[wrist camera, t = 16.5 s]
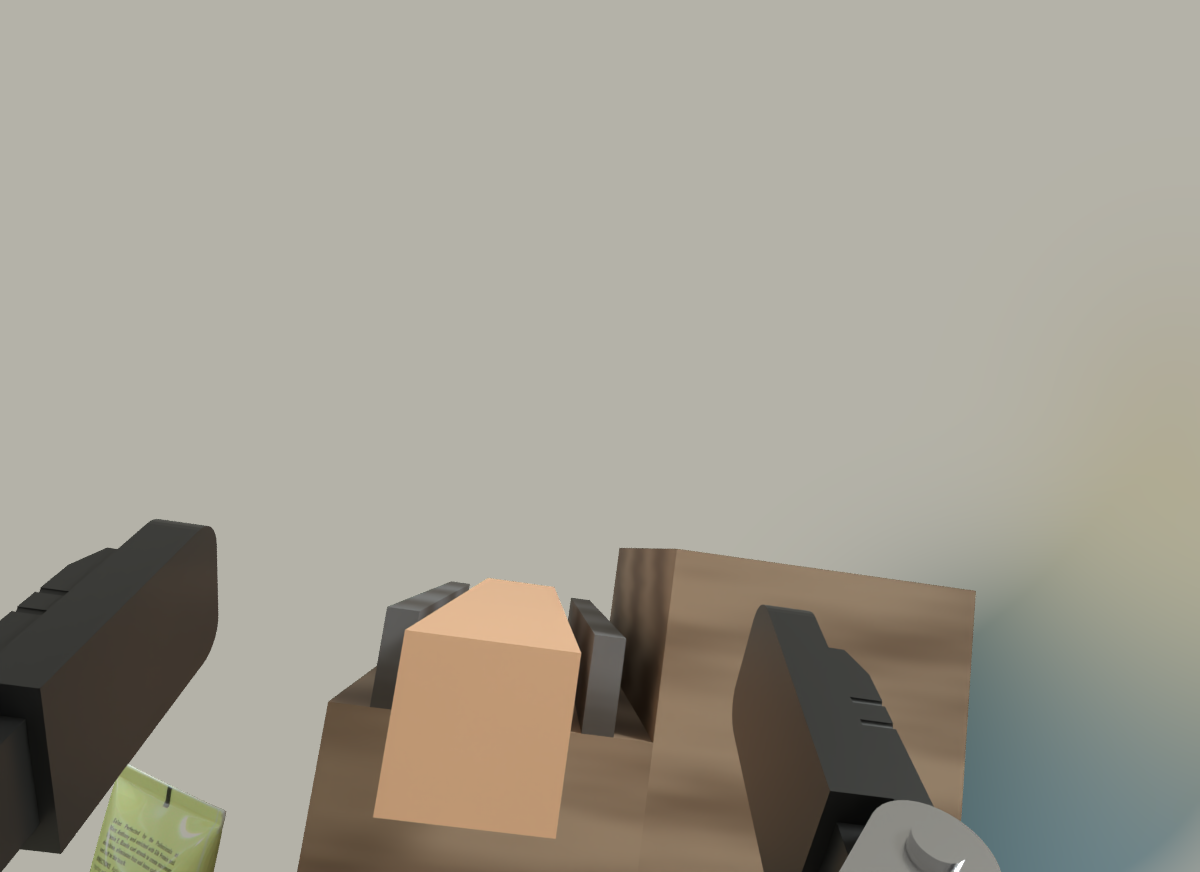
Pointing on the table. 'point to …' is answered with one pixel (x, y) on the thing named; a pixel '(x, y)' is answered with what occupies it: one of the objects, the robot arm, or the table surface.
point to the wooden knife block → (656, 719)
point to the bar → (483, 713)
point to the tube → (156, 828)
